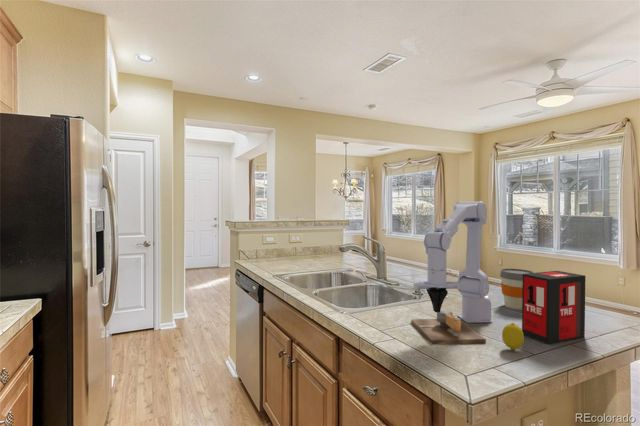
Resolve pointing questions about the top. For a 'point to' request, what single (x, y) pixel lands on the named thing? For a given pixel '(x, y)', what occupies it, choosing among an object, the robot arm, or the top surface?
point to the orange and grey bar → (449, 319)
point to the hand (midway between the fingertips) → (436, 311)
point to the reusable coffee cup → (512, 287)
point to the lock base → (446, 332)
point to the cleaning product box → (553, 306)
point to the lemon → (513, 336)
